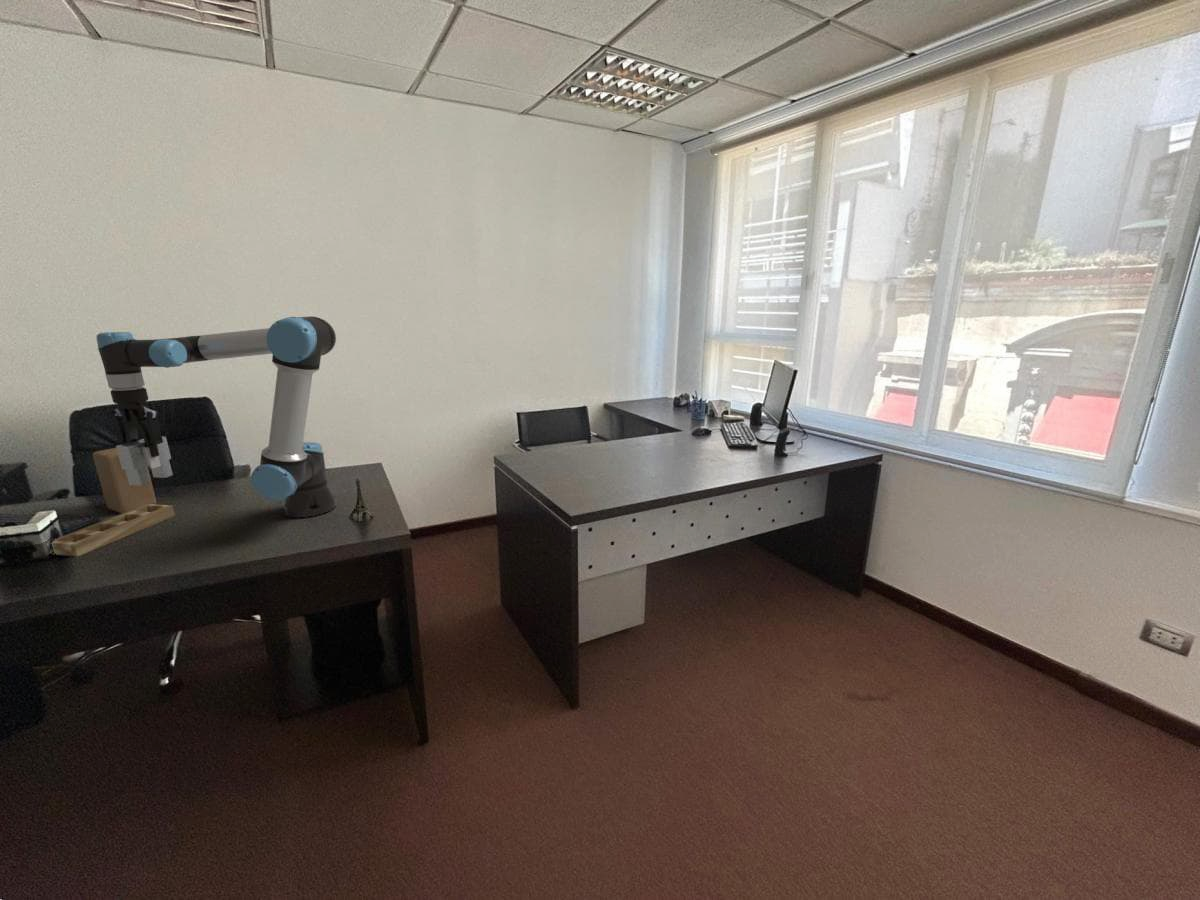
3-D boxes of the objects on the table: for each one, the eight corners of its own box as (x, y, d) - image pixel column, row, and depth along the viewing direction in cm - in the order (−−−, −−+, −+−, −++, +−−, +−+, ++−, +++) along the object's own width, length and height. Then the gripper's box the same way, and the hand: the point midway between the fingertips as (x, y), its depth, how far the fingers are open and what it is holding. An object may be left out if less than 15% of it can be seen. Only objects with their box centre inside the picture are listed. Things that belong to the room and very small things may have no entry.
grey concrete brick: (175, 474, 154) (165, 436, 151) (138, 486, 144) (128, 446, 140) (163, 473, 155) (154, 436, 151) (126, 485, 144) (115, 445, 141)
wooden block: (158, 504, 172) (144, 448, 166) (122, 514, 163) (106, 456, 157) (142, 499, 176) (128, 444, 170) (106, 509, 167) (90, 452, 161)
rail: (175, 515, 163) (172, 505, 162) (77, 556, 136) (74, 544, 135) (150, 513, 164) (148, 503, 163) (49, 554, 137) (46, 542, 136)
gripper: (167, 386, 144) (185, 464, 150) (115, 385, 146) (136, 461, 153) (140, 391, 137) (161, 472, 143) (87, 389, 139) (109, 469, 146)
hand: (148, 466), depth 148 cm, fingers closed on grey concrete brick, 4 cm apart
